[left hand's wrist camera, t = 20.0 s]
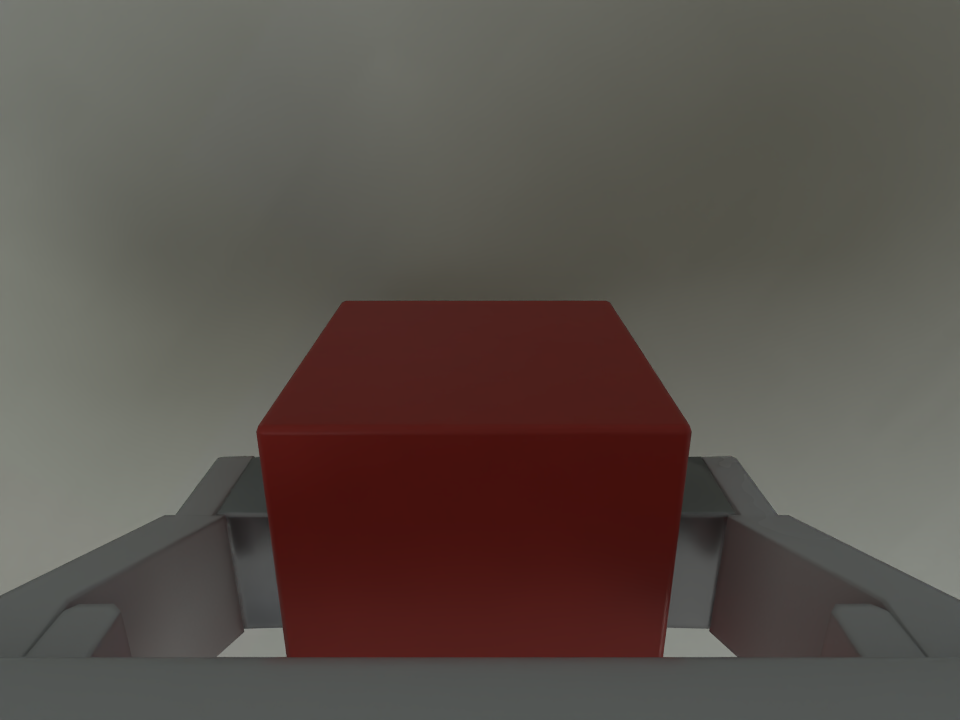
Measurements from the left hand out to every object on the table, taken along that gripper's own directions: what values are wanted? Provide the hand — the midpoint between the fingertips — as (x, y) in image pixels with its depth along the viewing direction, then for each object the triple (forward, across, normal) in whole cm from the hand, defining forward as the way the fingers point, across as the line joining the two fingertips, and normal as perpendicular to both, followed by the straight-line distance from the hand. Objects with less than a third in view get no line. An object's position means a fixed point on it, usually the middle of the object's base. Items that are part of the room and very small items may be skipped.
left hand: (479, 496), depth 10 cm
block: (+2, 0, 0) cm, 2 cm away
